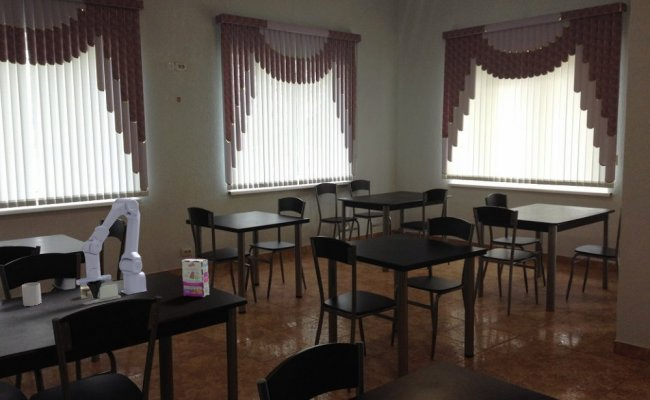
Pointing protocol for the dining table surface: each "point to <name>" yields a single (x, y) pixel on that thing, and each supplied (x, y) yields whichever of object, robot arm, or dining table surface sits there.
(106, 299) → the rail
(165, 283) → the dining table surface
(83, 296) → the letter block
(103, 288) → the grey flat block
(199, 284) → the candy bar box
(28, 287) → the cup
